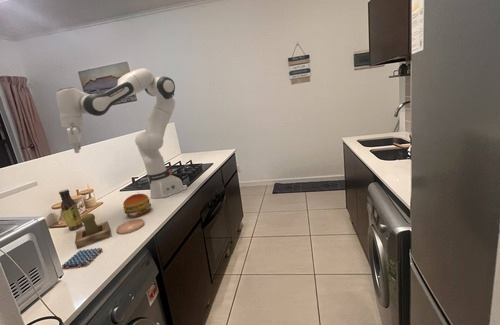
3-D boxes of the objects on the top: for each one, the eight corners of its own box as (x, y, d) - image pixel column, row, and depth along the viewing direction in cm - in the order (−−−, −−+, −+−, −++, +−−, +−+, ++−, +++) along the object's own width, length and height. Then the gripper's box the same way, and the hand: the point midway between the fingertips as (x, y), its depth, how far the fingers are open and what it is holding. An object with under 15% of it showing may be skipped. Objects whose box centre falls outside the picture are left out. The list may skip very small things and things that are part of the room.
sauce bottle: (79, 228, 129) (66, 191, 124) (66, 231, 128) (52, 194, 124) (85, 223, 135) (73, 187, 131) (72, 225, 135) (59, 190, 130)
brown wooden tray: (109, 226, 126) (107, 221, 125) (111, 236, 115) (109, 230, 114) (78, 237, 119) (76, 231, 119) (77, 248, 108) (74, 242, 108)
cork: (95, 240, 114) (87, 217, 111) (83, 241, 115) (75, 218, 112) (105, 233, 119) (97, 211, 117) (94, 233, 121) (86, 212, 118)
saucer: (142, 218, 129) (141, 216, 128) (146, 226, 119) (145, 224, 118) (115, 227, 123) (115, 225, 123) (118, 237, 113) (117, 234, 113)
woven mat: (60, 271, 94) (58, 266, 94) (80, 254, 105) (78, 249, 104) (87, 268, 94) (85, 263, 93) (104, 251, 104) (103, 246, 103)
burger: (148, 216, 131) (142, 197, 128) (121, 221, 130) (115, 202, 128) (155, 205, 144) (150, 188, 141) (131, 210, 144) (126, 193, 141)
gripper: (78, 124, 117) (84, 154, 120) (81, 120, 134) (86, 147, 138) (61, 125, 114) (67, 155, 117) (67, 121, 131) (72, 148, 135)
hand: (78, 151), depth 128 cm, fingers open, 8 cm apart
